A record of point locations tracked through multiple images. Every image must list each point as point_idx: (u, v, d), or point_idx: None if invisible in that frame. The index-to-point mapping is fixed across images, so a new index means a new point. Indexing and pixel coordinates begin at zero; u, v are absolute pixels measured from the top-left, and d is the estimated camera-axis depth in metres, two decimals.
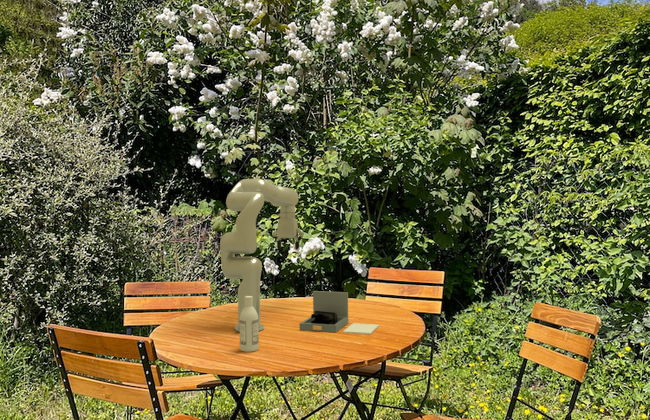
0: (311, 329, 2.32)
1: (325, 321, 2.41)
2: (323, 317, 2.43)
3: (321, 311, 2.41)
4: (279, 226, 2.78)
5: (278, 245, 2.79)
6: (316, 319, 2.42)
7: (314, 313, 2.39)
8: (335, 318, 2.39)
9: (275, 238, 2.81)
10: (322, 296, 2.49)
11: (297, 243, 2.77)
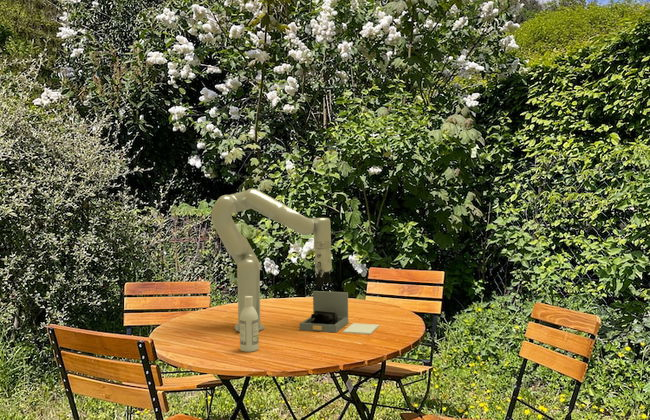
0: (311, 329, 2.32)
1: (325, 321, 2.41)
2: (323, 317, 2.43)
3: (321, 311, 2.41)
4: (325, 258, 2.36)
5: (323, 281, 2.35)
6: (316, 319, 2.42)
7: (314, 313, 2.39)
8: (335, 318, 2.39)
9: (319, 274, 2.34)
10: (322, 296, 2.49)
11: None
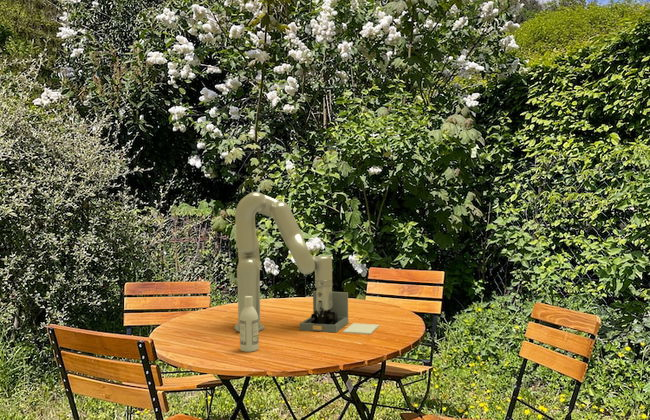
0: (311, 329, 2.32)
1: (325, 321, 2.41)
2: None
3: None
4: (327, 297, 2.35)
5: (324, 321, 2.35)
6: (316, 319, 2.42)
7: (314, 313, 2.39)
8: (335, 318, 2.39)
9: (321, 314, 2.34)
10: None
11: None
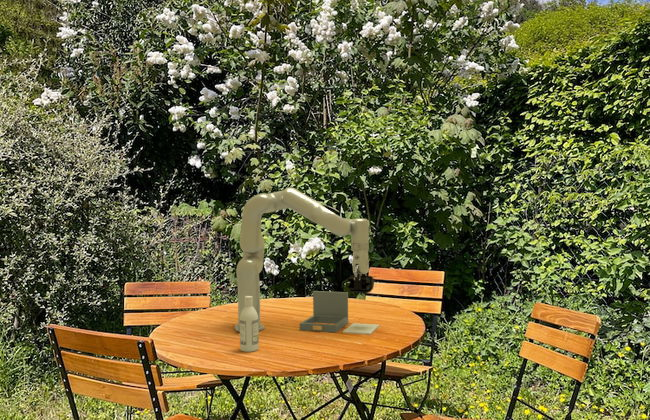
0: (311, 329, 2.32)
1: None
2: None
3: None
4: (364, 260, 2.30)
5: (361, 284, 2.30)
6: (352, 283, 2.36)
7: (350, 277, 2.33)
8: (372, 282, 2.33)
9: (358, 277, 2.28)
10: (322, 296, 2.49)
11: None
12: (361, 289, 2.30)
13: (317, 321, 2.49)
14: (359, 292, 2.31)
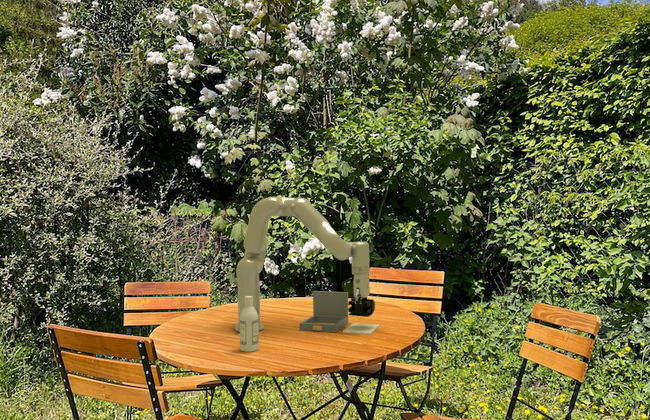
0: (311, 329, 2.32)
1: None
2: None
3: None
4: (364, 284, 2.30)
5: (362, 308, 2.30)
6: (353, 306, 2.37)
7: (351, 300, 2.33)
8: (373, 305, 2.33)
9: (359, 301, 2.28)
10: (322, 296, 2.49)
11: None
12: (362, 313, 2.30)
13: (317, 321, 2.49)
14: None
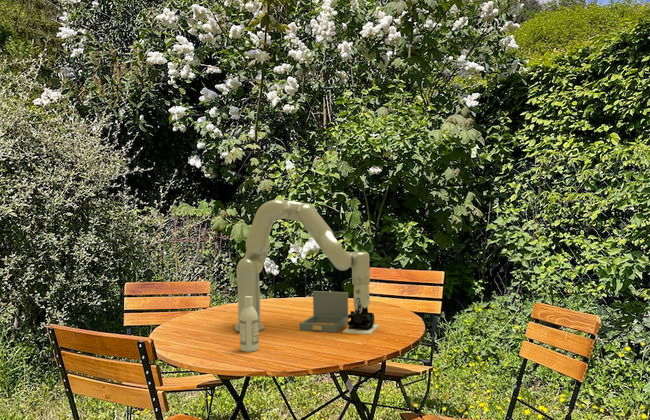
0: (311, 329, 2.32)
1: None
2: None
3: None
4: (365, 294, 2.30)
5: None
6: (352, 320, 2.37)
7: (351, 313, 2.33)
8: (372, 318, 2.33)
9: (359, 310, 2.28)
10: (322, 296, 2.49)
11: None
12: (362, 326, 2.30)
13: (317, 321, 2.49)
14: (360, 329, 2.31)
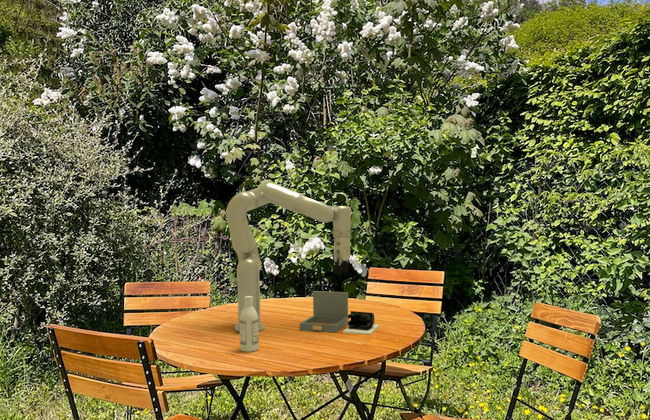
0: (311, 329, 2.32)
1: (361, 322, 2.36)
2: (359, 317, 2.37)
3: None
4: (344, 247, 2.34)
5: (341, 270, 2.33)
6: (352, 320, 2.37)
7: (351, 313, 2.33)
8: (372, 318, 2.33)
9: (338, 262, 2.32)
10: (322, 296, 2.49)
11: None
12: (362, 326, 2.30)
13: (317, 321, 2.49)
14: (360, 329, 2.31)
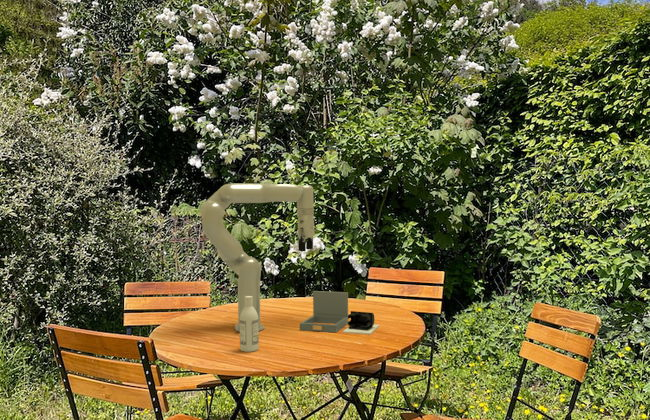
0: (311, 329, 2.32)
1: (361, 322, 2.36)
2: (359, 317, 2.37)
3: None
4: (308, 224, 2.43)
5: (305, 246, 2.42)
6: (352, 320, 2.37)
7: (351, 313, 2.33)
8: (372, 318, 2.33)
9: (302, 239, 2.41)
10: (322, 296, 2.49)
11: None
12: (362, 326, 2.30)
13: (317, 321, 2.49)
14: (360, 329, 2.31)
